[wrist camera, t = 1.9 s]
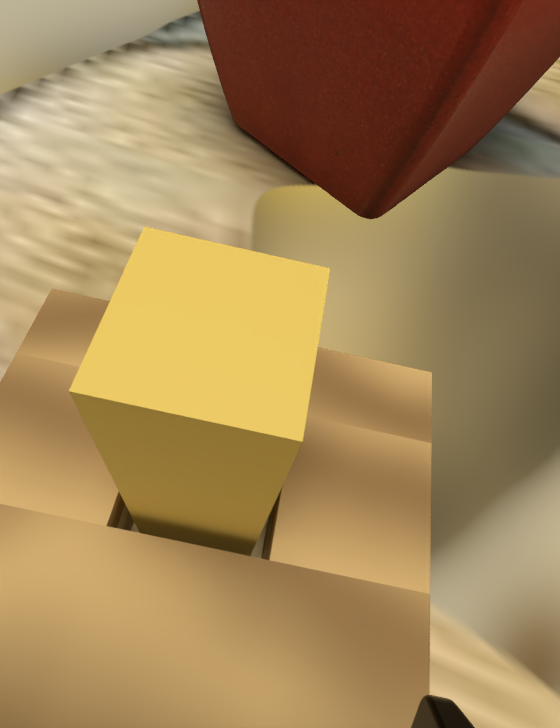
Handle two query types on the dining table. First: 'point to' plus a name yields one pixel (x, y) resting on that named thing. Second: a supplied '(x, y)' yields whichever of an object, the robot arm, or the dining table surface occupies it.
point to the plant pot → (376, 83)
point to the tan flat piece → (214, 564)
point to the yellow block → (202, 385)
